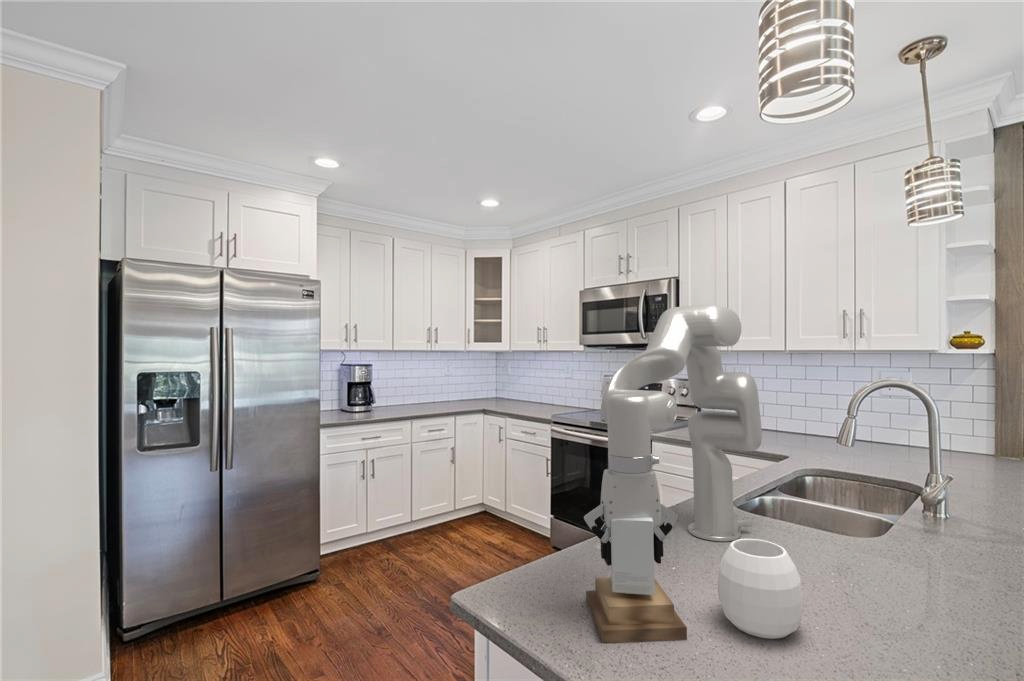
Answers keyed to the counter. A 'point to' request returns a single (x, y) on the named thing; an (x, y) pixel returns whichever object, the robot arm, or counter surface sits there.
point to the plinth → (634, 629)
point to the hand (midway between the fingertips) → (632, 561)
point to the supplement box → (632, 556)
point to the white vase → (760, 588)
